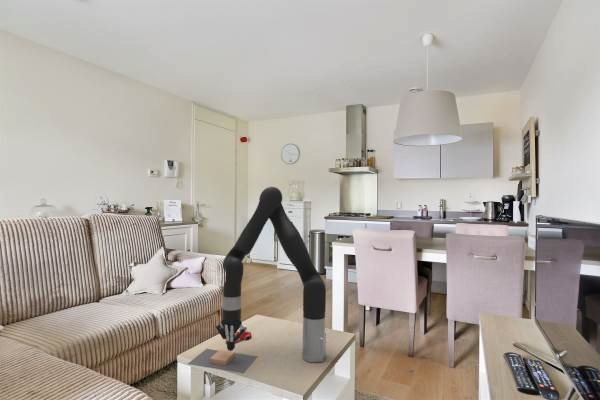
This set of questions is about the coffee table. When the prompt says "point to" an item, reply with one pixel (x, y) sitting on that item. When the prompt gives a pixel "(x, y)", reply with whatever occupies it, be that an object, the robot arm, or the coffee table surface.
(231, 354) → the tile
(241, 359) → the mat
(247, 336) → the race car
